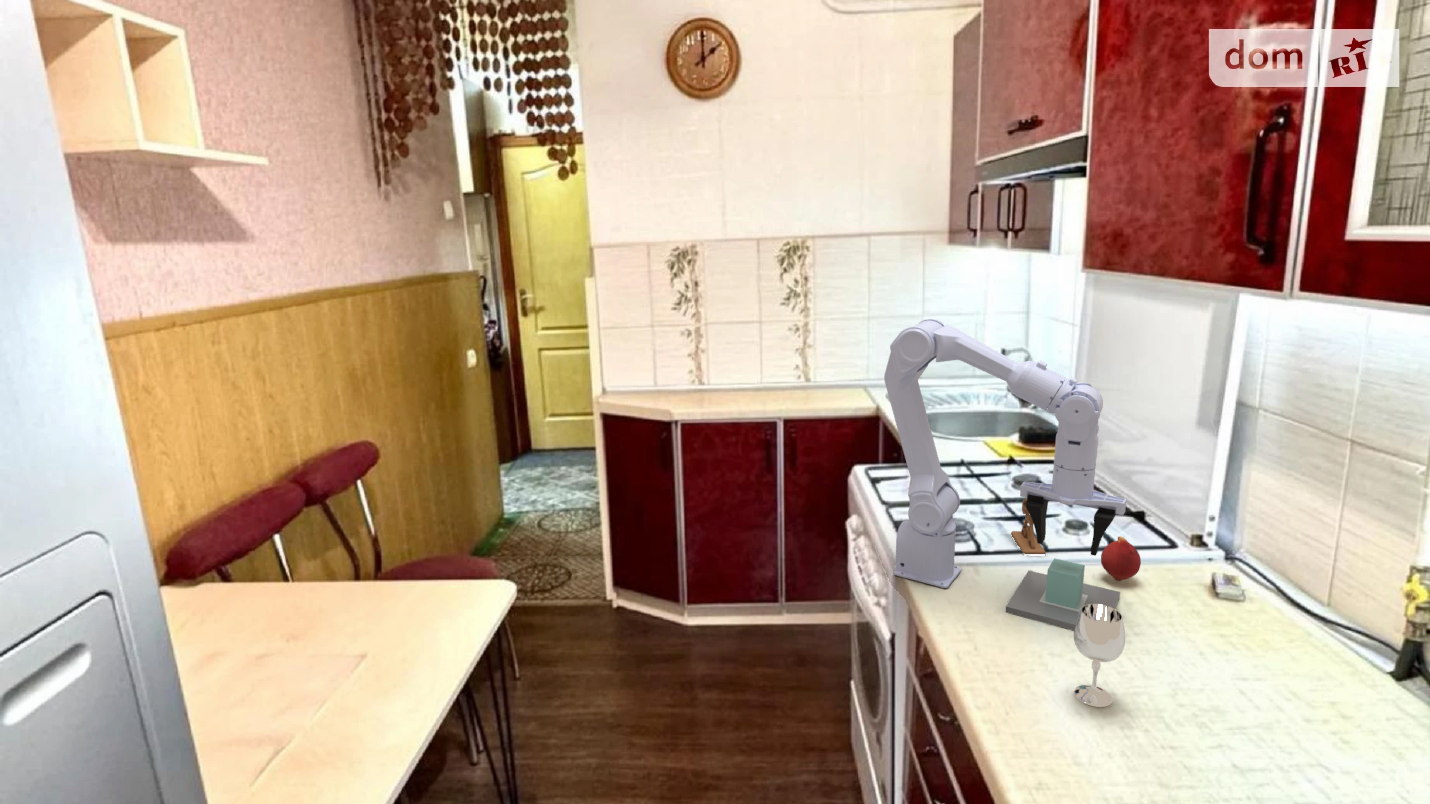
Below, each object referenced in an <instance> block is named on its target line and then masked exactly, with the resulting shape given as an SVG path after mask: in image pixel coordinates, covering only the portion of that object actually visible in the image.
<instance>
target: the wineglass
mask: <svg viewBox="0 0 1430 804" xmlns="http://www.w3.org/2000/svg"><path fill="white" fill-rule="evenodd" d="M1073 641H1074V645H1075V648H1076V649H1077V650H1078V652H1079V653H1080V654H1081V655H1083V657H1085V658H1087V659H1089V660H1091V661H1092V662H1091V669H1092V683H1091V684H1081V685H1078V686H1076V687H1075V688H1074V690H1073V692H1074V693H1073V695H1074V696H1075V697H1076V699H1077V700H1078V701H1080V702H1081V703H1083V704H1086V705H1088V706H1090V707H1095V708H1105V707H1109V706H1110V705H1112V703H1113V698H1112V695H1111V694H1110V693H1109V692H1108V691H1107V690H1105V689H1103V688H1101V687H1098V686H1097V681H1098V680H1097V679H1098V674H1099V671H1100V670H1101V663H1109V662H1114V661H1115V660H1117V659H1118V658H1120V656H1121V655H1122V653H1123V651H1124V650H1125V644H1126V631H1125V625H1124V619H1123V615H1122V613H1121V612H1120V611H1119V610H1117V608H1116V609H1114V608H1112V607H1109V606H1106V605H1101V604H1087V605H1084V606H1083V607H1082V608H1081V610H1080V612H1079V615H1078V617H1077V620H1076V623H1075V627H1074V630H1073Z"/></svg>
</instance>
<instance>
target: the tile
mask: <svg viewBox="0 0 1430 804" xmlns="http://www.w3.org/2000/svg"><path fill="white" fill-rule="evenodd" d="M1019 583H1020V584H1019V585H1018V587H1017V588H1016V590H1015V591H1014V593H1013V594H1012V596H1011V598H1010V599H1009V601H1008V602H1007V604H1006V606H1005V613H1007V614H1012V615H1015V616H1019V617H1022V618H1026V619H1028V620H1033V621H1037V622H1041V623H1044V624H1048V625H1053V626H1056V627H1059V628H1062V629H1068V630H1071V631H1074V627H1075V623H1076V620H1077V617H1078V615H1079V612H1080V610H1081V608H1082V607H1083V606H1084V605H1087V604H1101V605H1106V606H1109V607H1112V608H1114V609H1116V610H1117V606H1118V603H1119V600H1120V598H1121V591H1118V590H1114V589H1109V588H1106V587H1100V586H1097V585H1092V584H1088V583H1085V582H1083V590H1082V598H1081V600H1080V602H1079V604H1078V606H1077V608H1076V609H1074V608H1070V607H1066V606H1062V605H1058V604H1054V603H1050V602H1046V601H1045V597H1046V584H1047V573H1046V574H1045V573H1042V572H1036V571H1034V570H1028V571H1027V572H1026V574H1025V575H1024V577H1023V578H1022V580H1021V582H1019Z"/></svg>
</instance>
